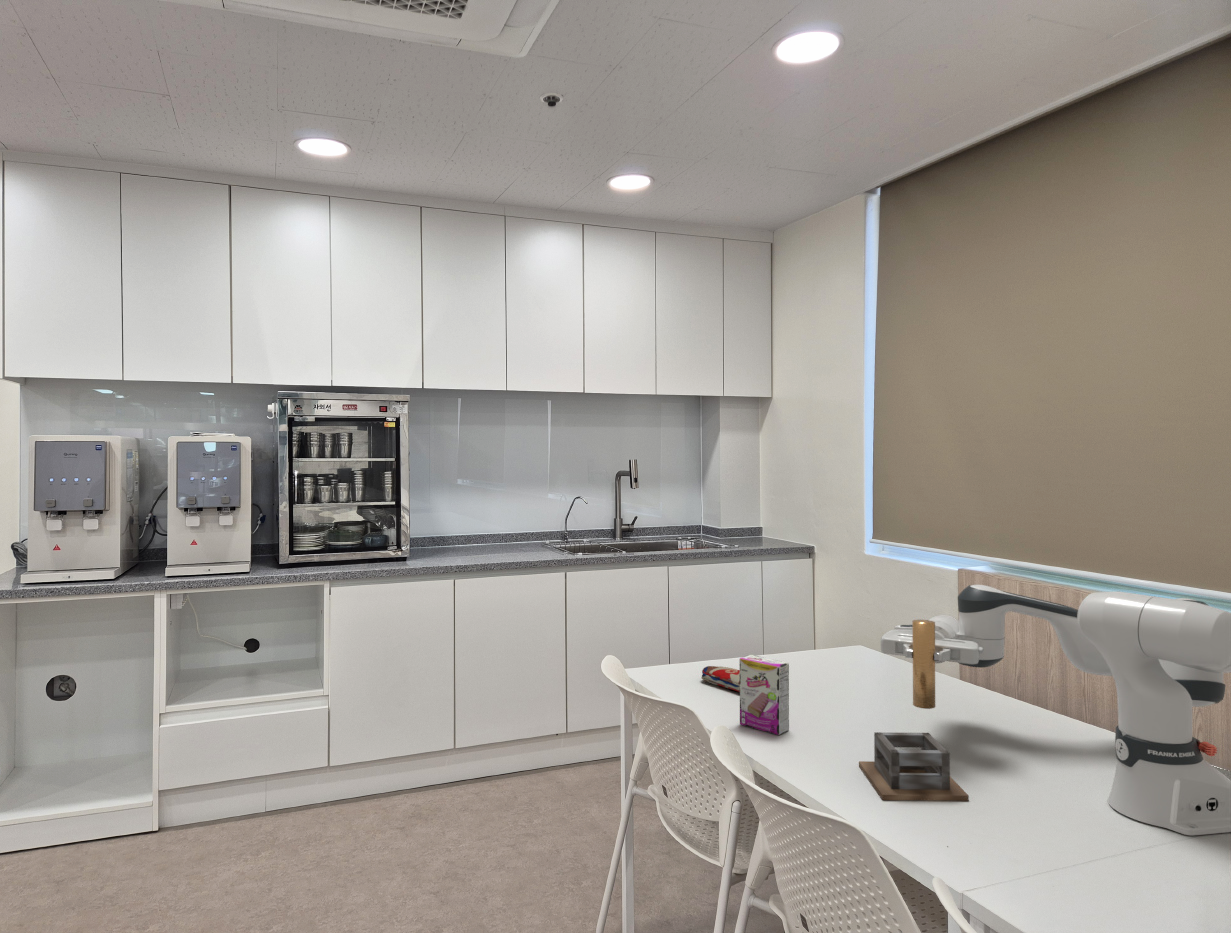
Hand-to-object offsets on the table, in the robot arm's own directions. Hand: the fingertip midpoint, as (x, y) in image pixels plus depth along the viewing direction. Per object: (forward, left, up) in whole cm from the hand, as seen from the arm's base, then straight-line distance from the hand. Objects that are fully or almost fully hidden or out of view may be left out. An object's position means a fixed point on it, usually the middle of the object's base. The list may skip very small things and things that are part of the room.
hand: (923, 655), depth 165 cm
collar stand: (+7, +12, -22) cm, 26 cm away
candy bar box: (+31, -18, -22) cm, 42 cm away
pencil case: (+35, -51, -23) cm, 66 cm away
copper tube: (0, -1, -11) cm, 11 cm away
